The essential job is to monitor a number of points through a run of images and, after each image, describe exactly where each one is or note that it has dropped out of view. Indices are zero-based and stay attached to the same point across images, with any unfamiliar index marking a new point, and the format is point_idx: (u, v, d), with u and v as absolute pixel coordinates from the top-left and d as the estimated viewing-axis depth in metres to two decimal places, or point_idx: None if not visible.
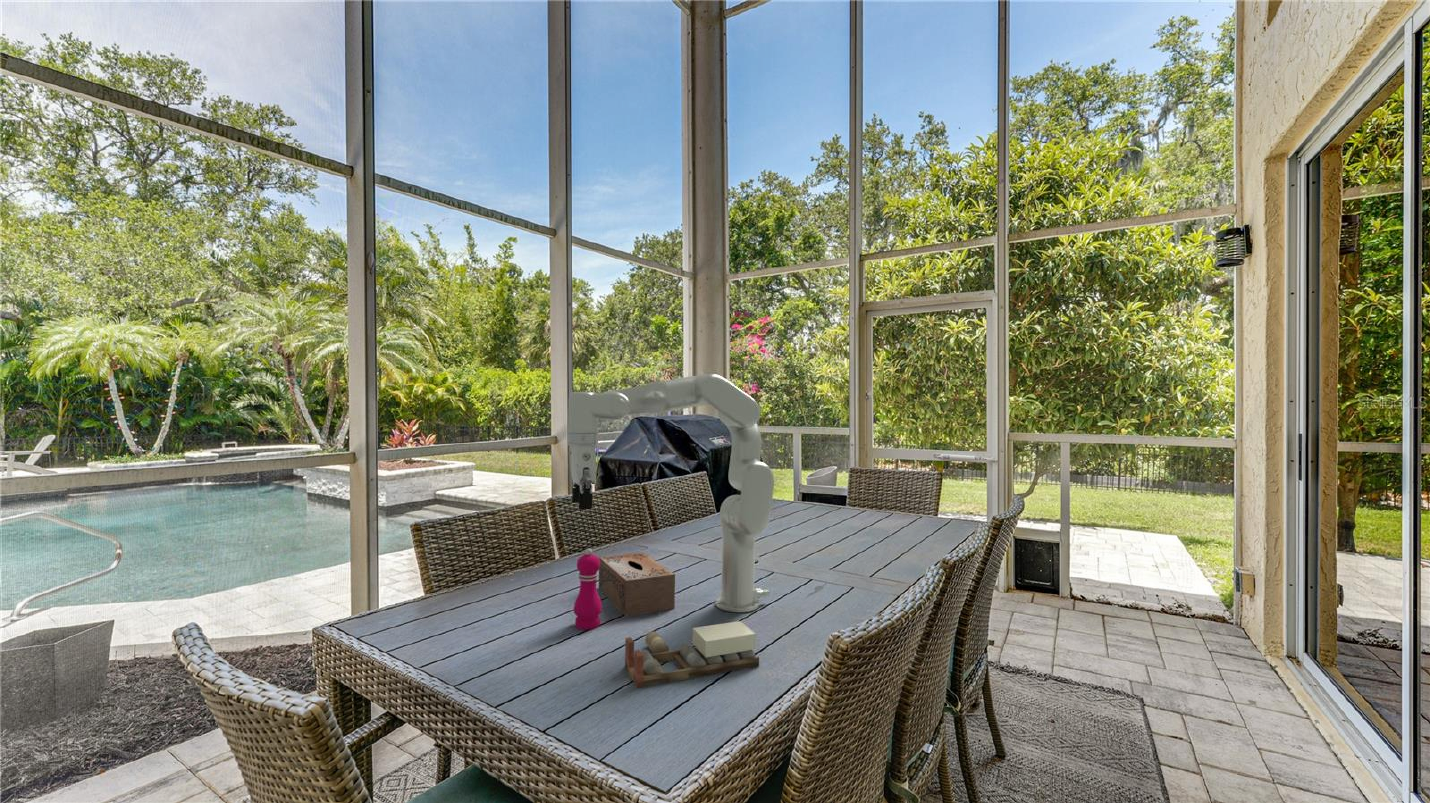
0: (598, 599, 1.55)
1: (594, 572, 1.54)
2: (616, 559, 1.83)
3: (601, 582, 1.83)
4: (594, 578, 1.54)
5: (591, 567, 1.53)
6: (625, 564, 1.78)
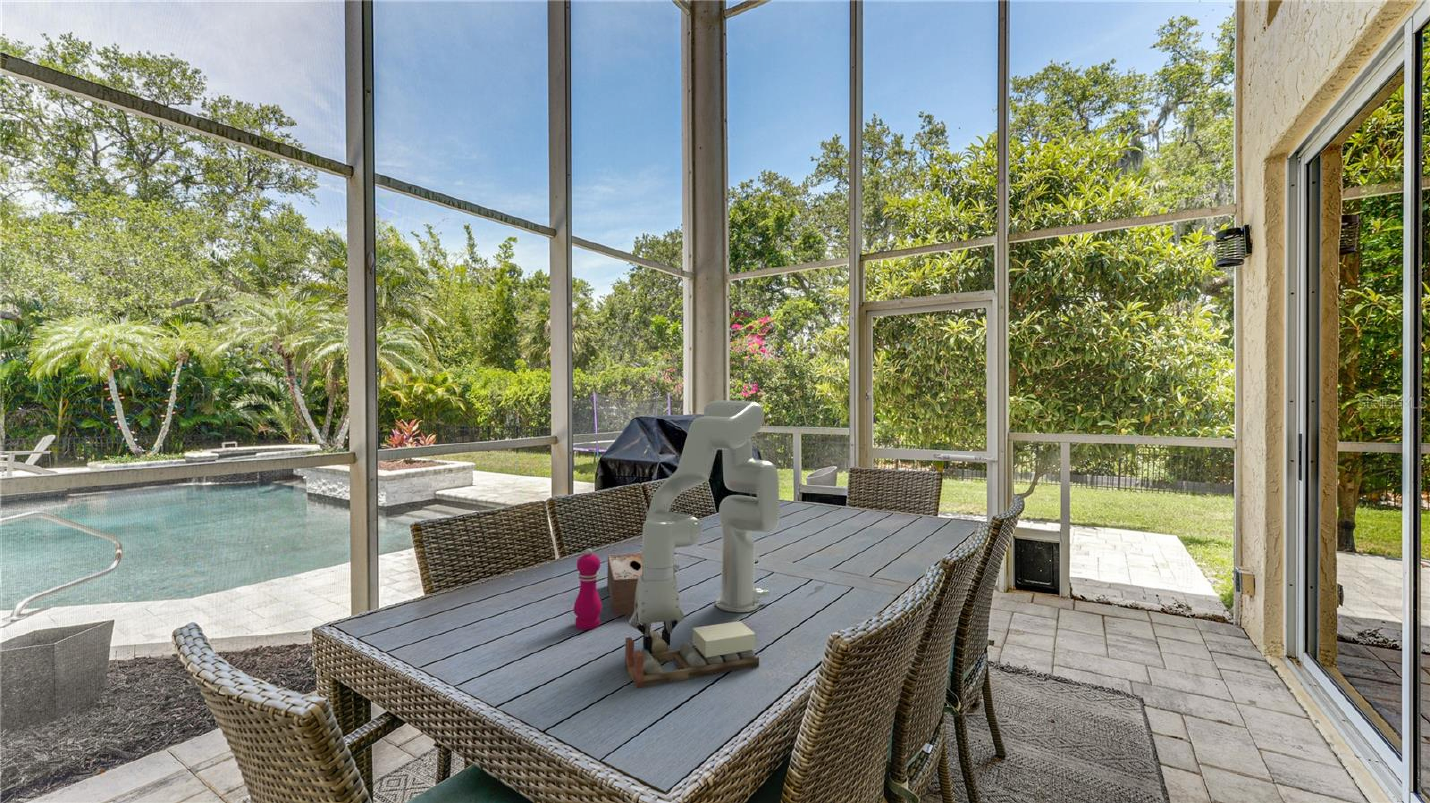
0: (598, 599, 1.55)
1: (594, 572, 1.54)
2: (622, 558, 1.84)
3: None
4: (594, 578, 1.54)
5: (591, 567, 1.53)
6: (626, 563, 1.79)
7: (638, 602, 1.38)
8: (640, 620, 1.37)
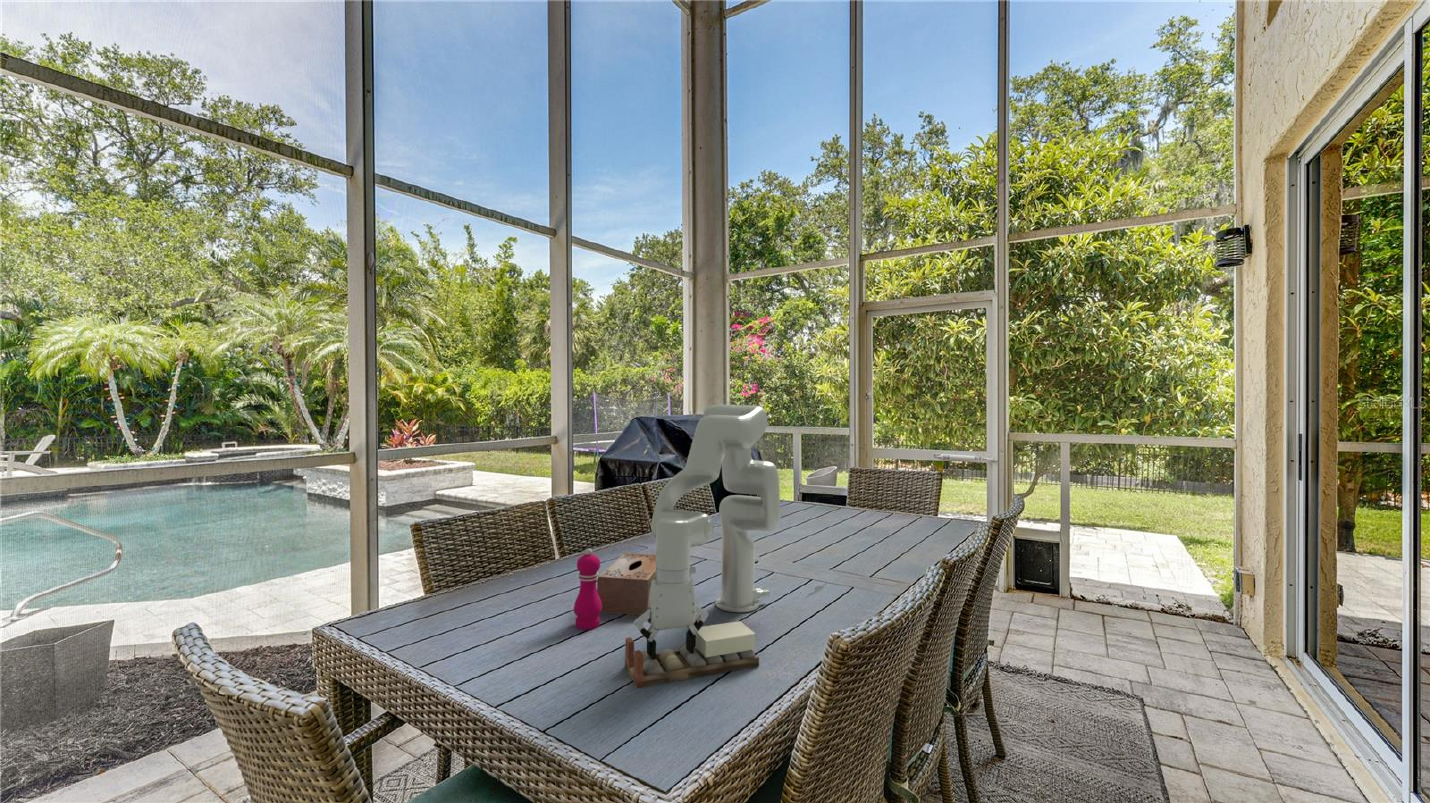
0: (598, 599, 1.55)
1: (594, 572, 1.54)
2: (632, 557, 1.86)
3: None
4: (594, 578, 1.54)
5: (591, 567, 1.53)
6: (630, 562, 1.80)
7: (652, 607, 1.28)
8: (654, 626, 1.27)
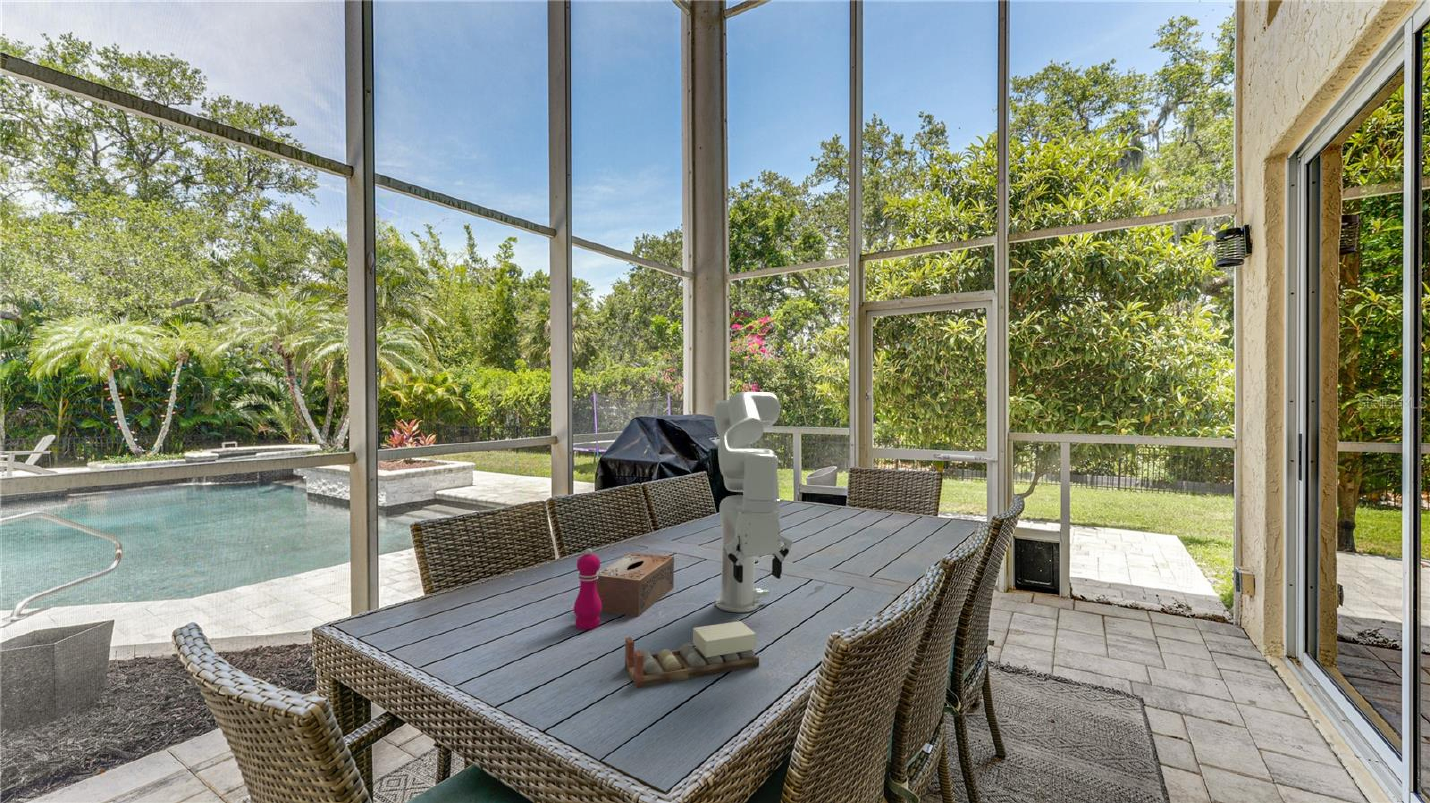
0: (598, 599, 1.55)
1: (594, 572, 1.54)
2: (637, 557, 1.86)
3: None
4: (594, 578, 1.54)
5: (591, 567, 1.53)
6: (631, 562, 1.80)
7: (741, 535, 1.36)
8: (743, 552, 1.36)
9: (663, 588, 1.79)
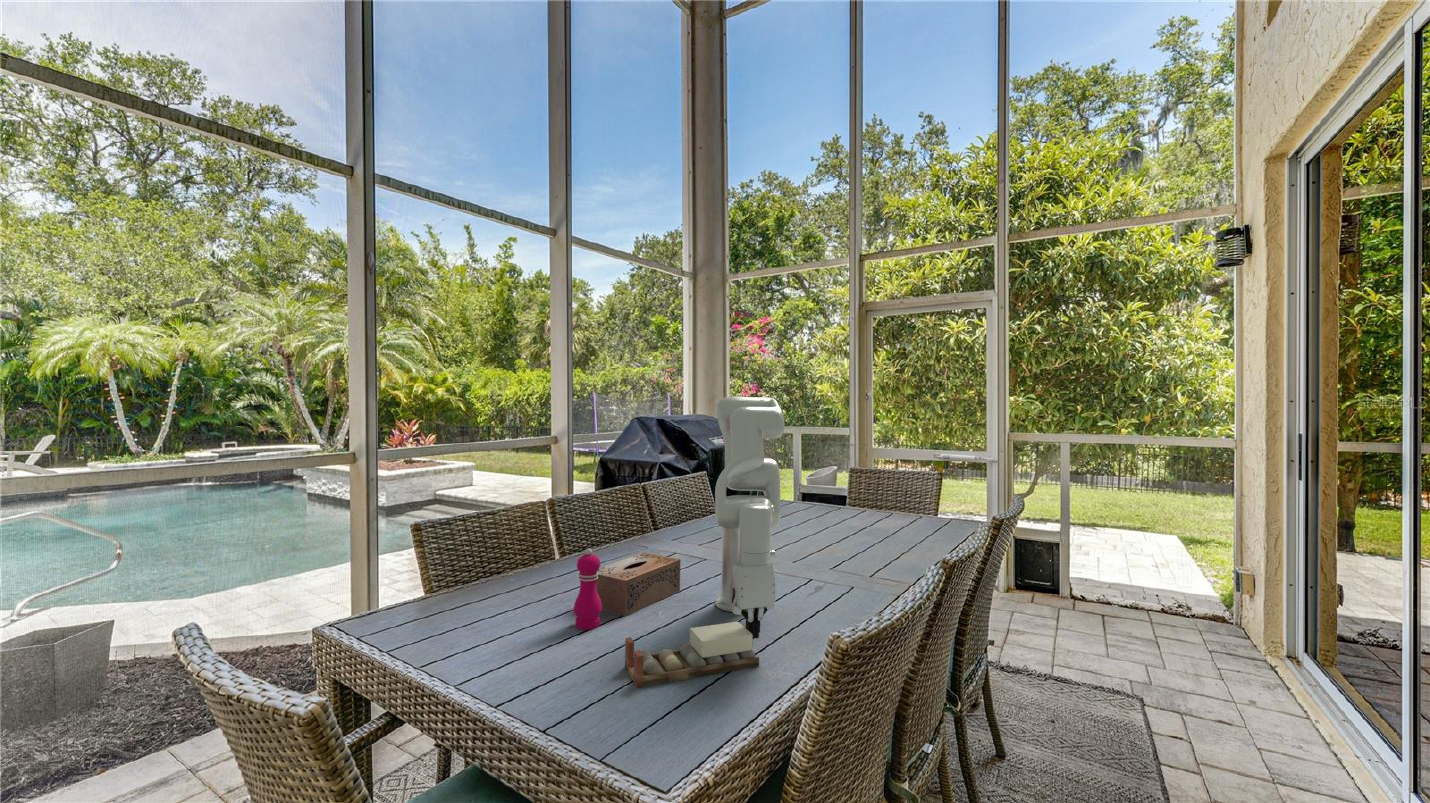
0: (598, 599, 1.55)
1: (594, 572, 1.54)
2: (644, 557, 1.86)
3: None
4: (594, 578, 1.54)
5: (591, 567, 1.53)
6: (634, 562, 1.80)
7: (736, 588, 1.35)
8: (739, 606, 1.35)
9: (663, 590, 1.77)
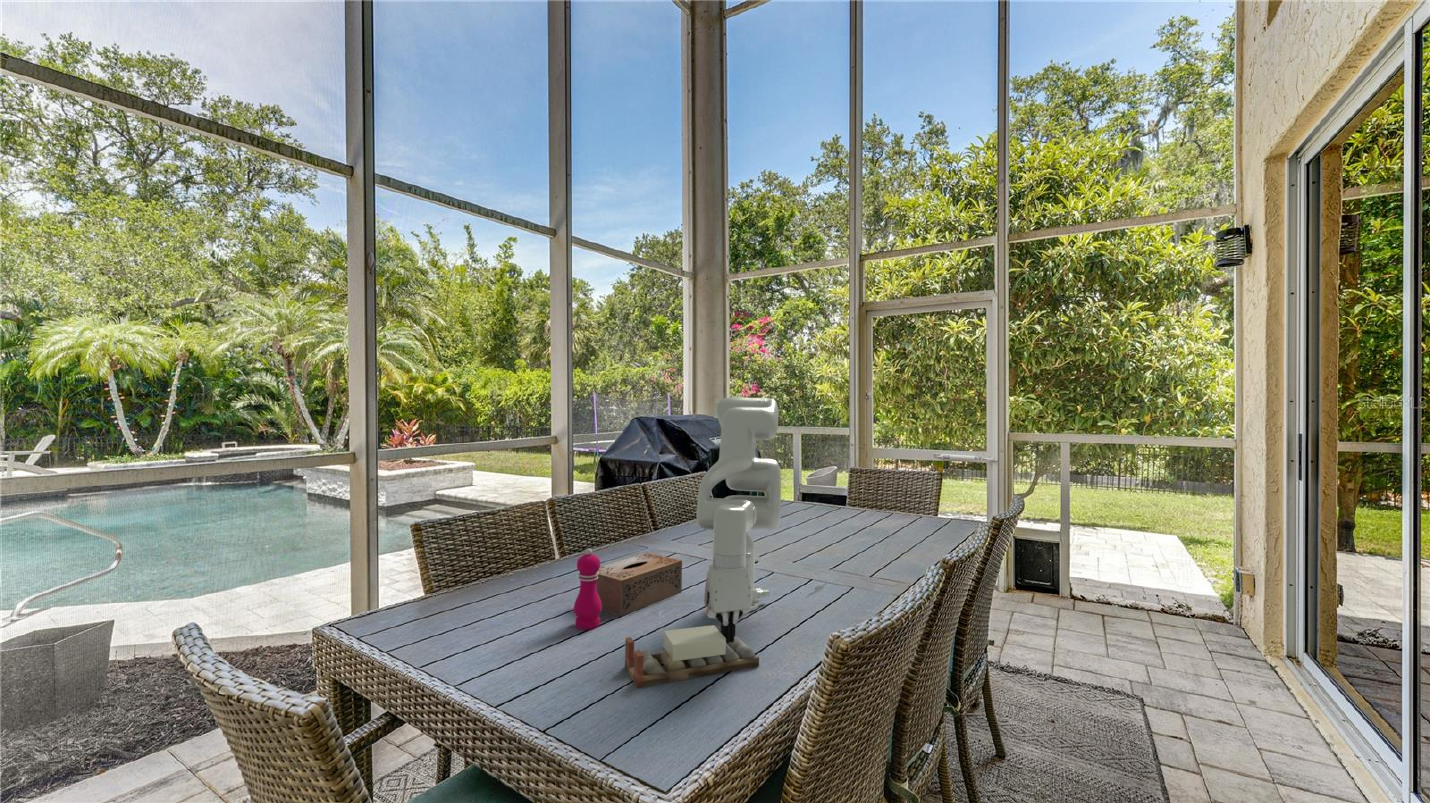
0: (598, 599, 1.55)
1: (594, 572, 1.54)
2: (646, 557, 1.85)
3: None
4: (594, 578, 1.54)
5: (591, 567, 1.53)
6: (635, 562, 1.80)
7: (710, 591, 1.33)
8: (713, 609, 1.32)
9: (663, 591, 1.76)
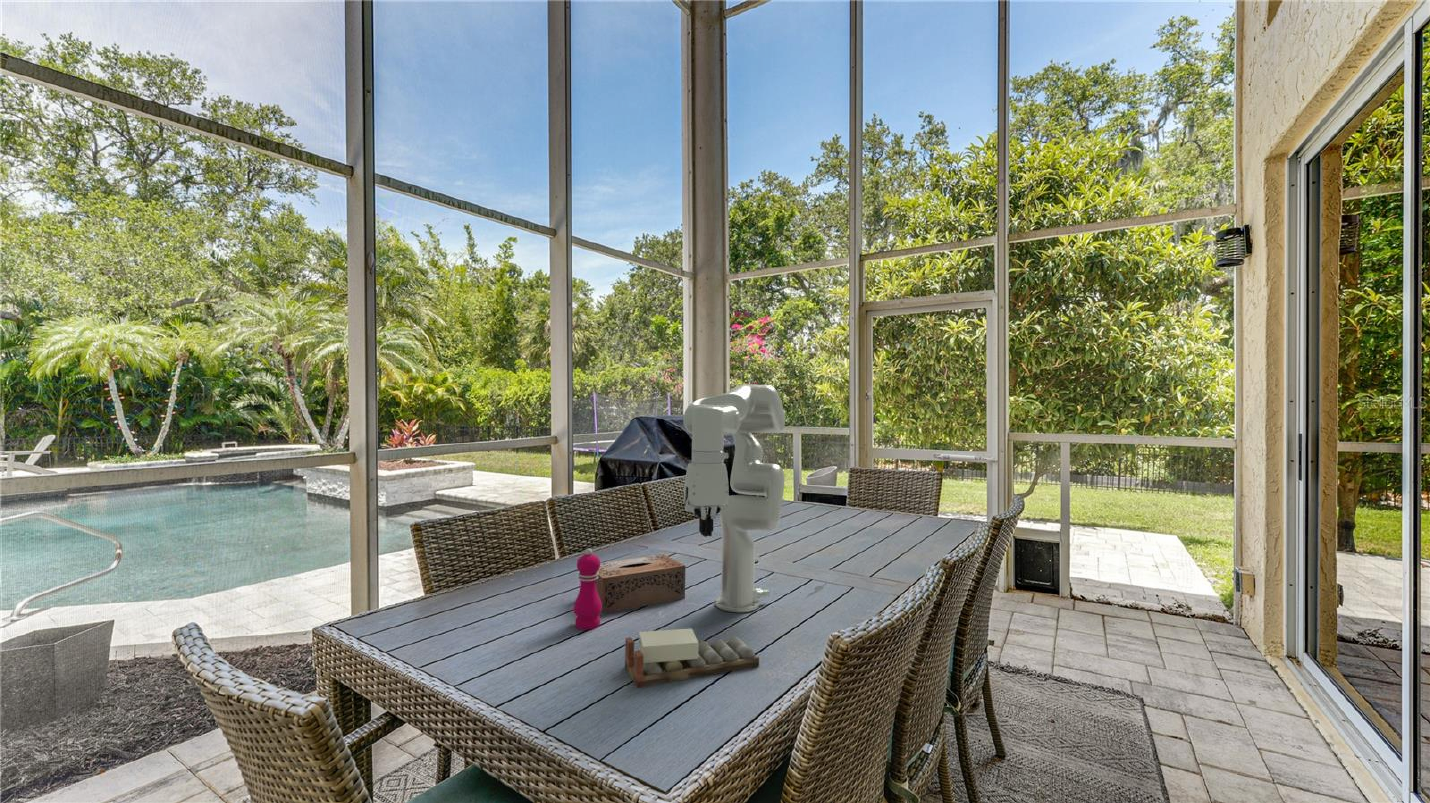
0: (598, 599, 1.55)
1: (594, 572, 1.54)
2: (656, 559, 1.84)
3: None
4: (594, 578, 1.54)
5: (591, 567, 1.53)
6: (639, 562, 1.80)
7: (689, 485, 1.39)
8: (691, 503, 1.39)
9: (659, 594, 1.73)
